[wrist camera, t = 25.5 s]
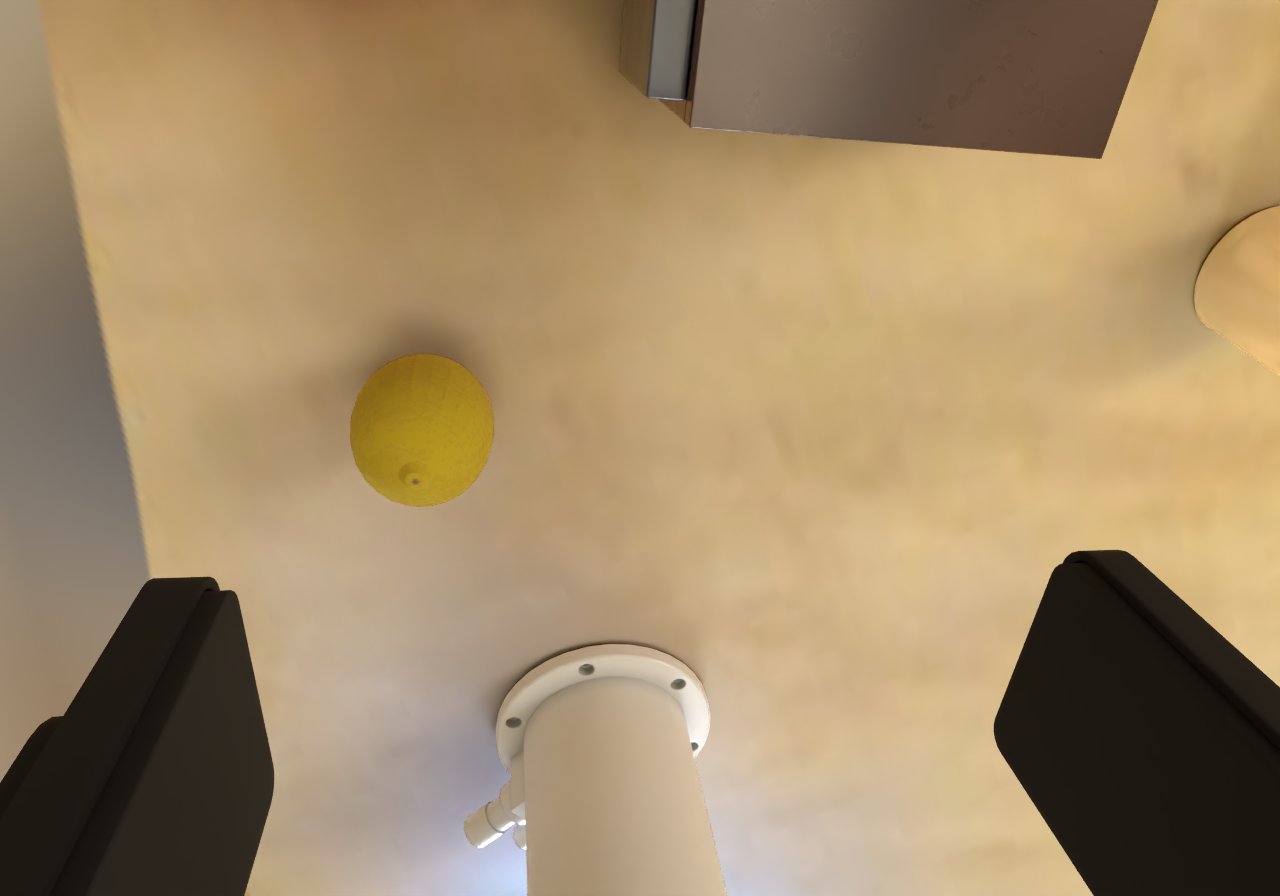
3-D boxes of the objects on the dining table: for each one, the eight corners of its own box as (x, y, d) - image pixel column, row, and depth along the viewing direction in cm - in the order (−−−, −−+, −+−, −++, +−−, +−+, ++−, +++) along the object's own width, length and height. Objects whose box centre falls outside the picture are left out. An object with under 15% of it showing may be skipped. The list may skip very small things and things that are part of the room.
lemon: (381, 445, 37) (354, 552, 30) (352, 332, 34) (315, 424, 28) (503, 430, 38) (503, 533, 31) (484, 318, 35) (480, 404, 28)
